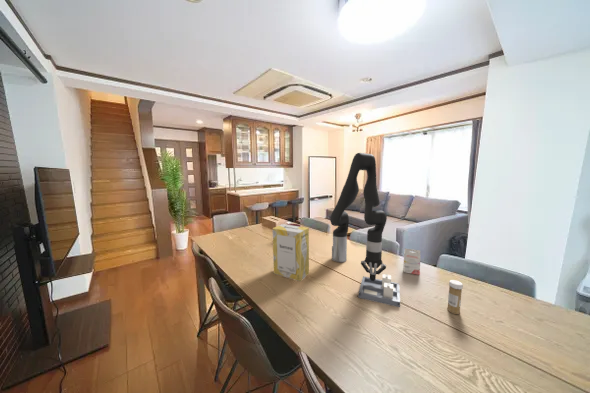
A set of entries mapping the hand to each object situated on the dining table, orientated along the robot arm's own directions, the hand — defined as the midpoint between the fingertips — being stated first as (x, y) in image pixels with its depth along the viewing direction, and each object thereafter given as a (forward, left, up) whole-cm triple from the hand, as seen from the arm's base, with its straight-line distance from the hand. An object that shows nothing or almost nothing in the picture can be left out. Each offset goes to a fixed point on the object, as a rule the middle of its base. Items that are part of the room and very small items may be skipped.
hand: (372, 280), depth 112 cm
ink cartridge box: (+20, +25, -4) cm, 32 cm away
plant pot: (-69, +48, -4) cm, 85 cm away
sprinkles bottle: (+34, -7, -4) cm, 35 cm away
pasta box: (-45, -5, -4) cm, 46 cm away
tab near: (+8, -9, -2) cm, 12 cm away
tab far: (+7, 0, -2) cm, 7 cm away
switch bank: (+4, -5, -3) cm, 7 cm away
